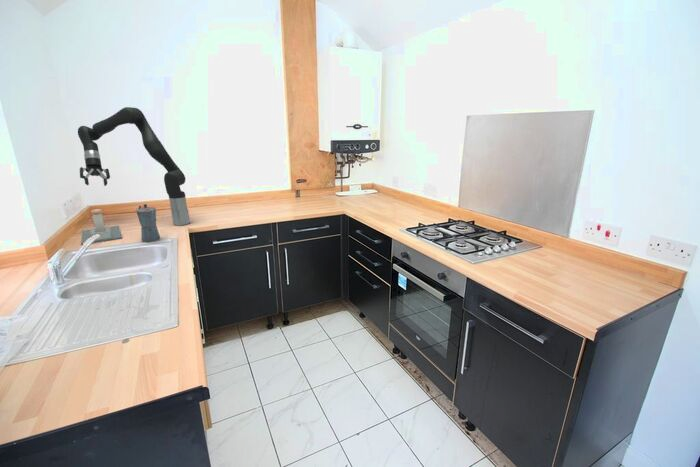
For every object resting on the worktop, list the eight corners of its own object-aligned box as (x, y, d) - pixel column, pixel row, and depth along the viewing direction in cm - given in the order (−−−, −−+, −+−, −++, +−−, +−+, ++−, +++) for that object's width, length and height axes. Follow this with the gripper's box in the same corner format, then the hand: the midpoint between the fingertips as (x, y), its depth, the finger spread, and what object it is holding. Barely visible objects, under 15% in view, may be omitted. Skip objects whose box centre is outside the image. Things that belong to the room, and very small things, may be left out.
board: (82, 232, 198) (82, 230, 198) (119, 226, 208) (118, 225, 208) (81, 245, 177) (81, 243, 177) (122, 238, 187) (122, 237, 187)
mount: (92, 235, 189) (90, 228, 188) (110, 232, 194) (109, 226, 193) (92, 241, 180) (90, 234, 179) (111, 238, 185) (110, 231, 184)
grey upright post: (96, 232, 194) (90, 209, 190) (106, 230, 197) (101, 208, 193) (96, 234, 191) (90, 211, 187) (106, 232, 193) (101, 210, 189)
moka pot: (149, 244, 178) (142, 207, 172) (134, 239, 186) (126, 203, 180) (166, 239, 186) (160, 204, 180) (151, 234, 194) (145, 200, 187)
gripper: (78, 155, 194) (82, 182, 193) (108, 158, 205) (112, 183, 203) (76, 160, 199) (80, 186, 198) (105, 162, 210) (109, 187, 208)
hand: (96, 185), depth 201 cm, fingers open, 8 cm apart
